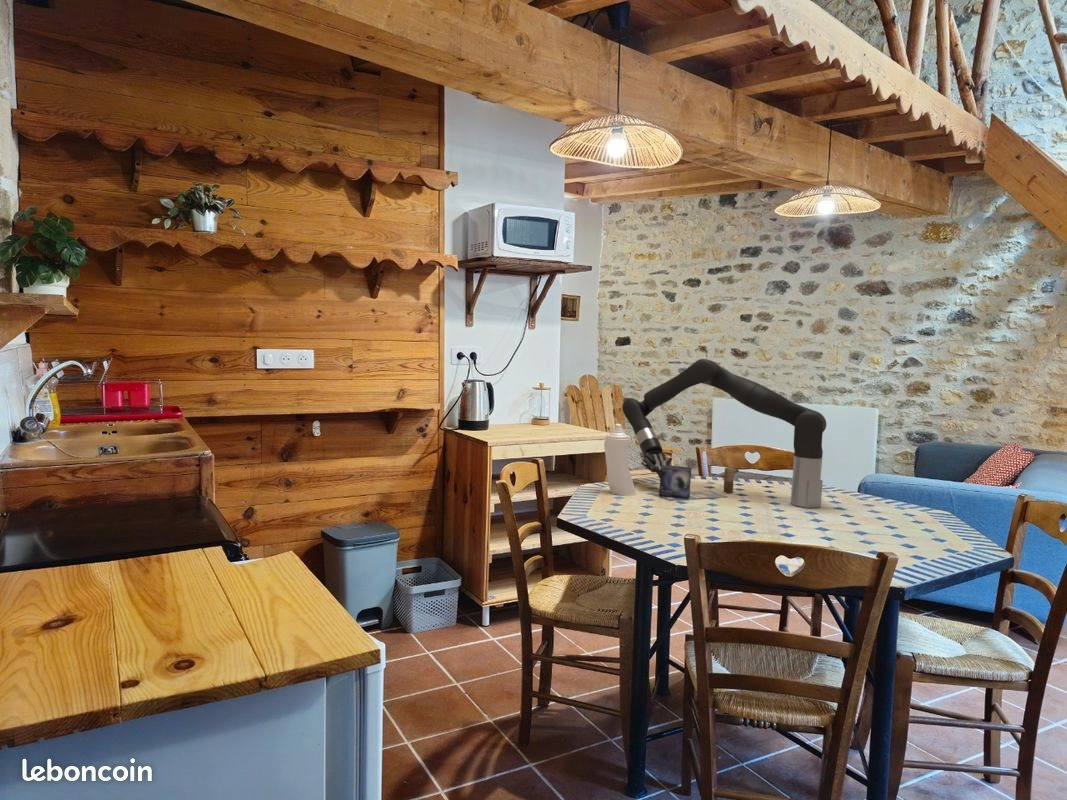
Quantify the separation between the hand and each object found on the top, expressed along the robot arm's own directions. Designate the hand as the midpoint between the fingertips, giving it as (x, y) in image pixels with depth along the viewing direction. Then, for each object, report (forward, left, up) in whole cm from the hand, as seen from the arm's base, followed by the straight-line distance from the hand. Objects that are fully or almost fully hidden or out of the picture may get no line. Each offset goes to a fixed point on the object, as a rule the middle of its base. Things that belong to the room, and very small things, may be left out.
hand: (665, 480), depth 256 cm
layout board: (-6, -7, -5) cm, 10 cm away
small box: (-6, 0, -5) cm, 8 cm away
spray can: (+5, +17, -5) cm, 18 cm away
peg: (-4, -25, -5) cm, 26 cm away
